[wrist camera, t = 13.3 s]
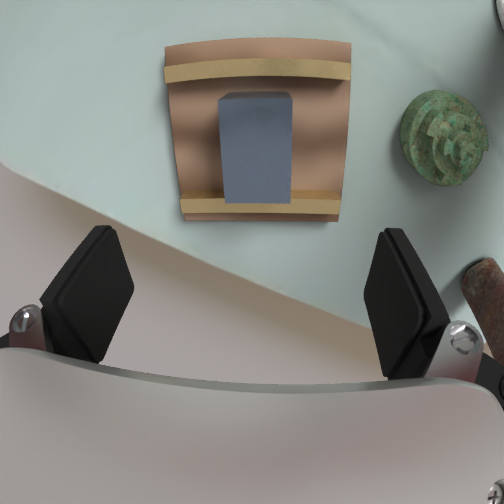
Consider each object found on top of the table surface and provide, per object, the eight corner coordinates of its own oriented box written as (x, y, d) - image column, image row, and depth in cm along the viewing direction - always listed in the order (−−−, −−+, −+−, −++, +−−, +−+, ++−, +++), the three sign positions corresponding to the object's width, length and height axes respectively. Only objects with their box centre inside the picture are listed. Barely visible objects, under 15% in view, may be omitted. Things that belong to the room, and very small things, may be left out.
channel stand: (171, 47, 22) (156, 46, 18) (345, 44, 21) (357, 41, 17) (189, 211, 32) (180, 230, 29) (334, 212, 31) (341, 232, 28)
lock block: (229, 92, 23) (217, 100, 18) (287, 91, 22) (292, 98, 17) (234, 175, 27) (225, 203, 22) (287, 175, 27) (290, 203, 22)
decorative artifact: (475, 166, 26) (465, 85, 21) (509, 193, 20) (505, 97, 15) (407, 185, 29) (389, 98, 23) (434, 217, 23) (421, 111, 18)
